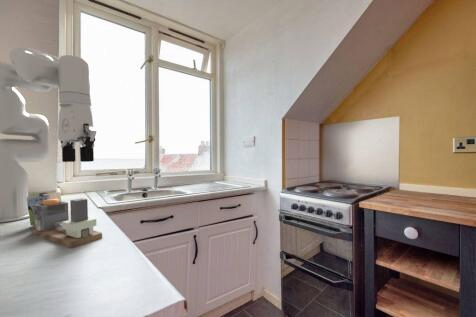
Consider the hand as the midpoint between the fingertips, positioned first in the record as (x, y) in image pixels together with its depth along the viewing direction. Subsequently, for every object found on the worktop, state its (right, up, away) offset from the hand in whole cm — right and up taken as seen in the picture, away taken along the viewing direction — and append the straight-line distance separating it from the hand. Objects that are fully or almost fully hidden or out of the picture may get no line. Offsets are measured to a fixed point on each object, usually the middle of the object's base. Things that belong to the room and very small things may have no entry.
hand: (77, 161), depth 63 cm
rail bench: (-7, -23, +4) cm, 24 cm away
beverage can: (-24, -23, +15) cm, 36 cm away
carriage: (0, -21, 0) cm, 21 cm away
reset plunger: (-15, -15, +8) cm, 23 cm away
